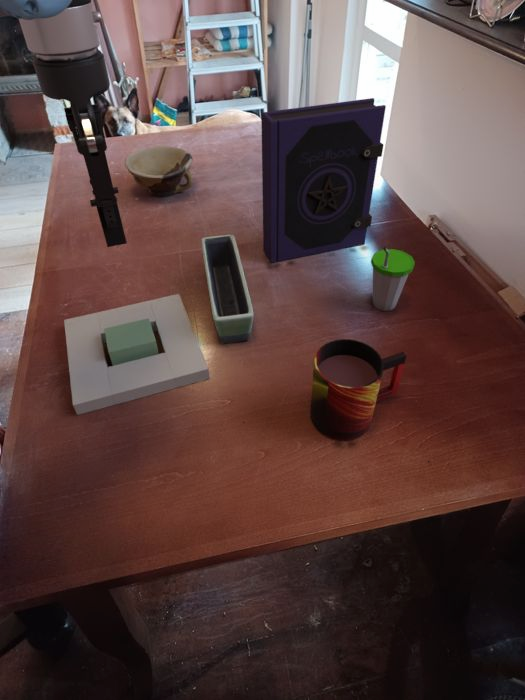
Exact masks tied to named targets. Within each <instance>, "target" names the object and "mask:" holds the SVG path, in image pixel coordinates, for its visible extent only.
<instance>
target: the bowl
mask: <svg viewBox="0 0 525 700" xmlns="http://www.w3.org/2000/svg"><path fill="white" fill-rule="evenodd" d="M192 164H193V156H192V154H191V153H190V152H189V151H188V150H186V149H184V148H181V147H177V146H172V145H171V146H170V145H156V146H155V145H154V146H151V147H150V146H149V147H144V148H141V149H138V150H136V151H133V152H131V153H130V154H128V155H127V156H126V158H124V166H125V169H127V171H128V173H129V174H131V176H132V177H133V180H134V182H136V184H138V185H139V186H141V187H142V188H144V189H145V190H148V192H149V194H151V195H152V196H154V197H158V198H159V197H160V198H164V197H170V196H172V195H174V194H177V193H181V192H185V191H188V190H189V189H190V188H191V187H192V186H193V181H194V180H193V176H192V174H191V170H190V169H191V167H192ZM183 177H184V178H185V180H186V183H184V184H183V183H181V181H182V179H183Z"/></svg>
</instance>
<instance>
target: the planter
mask: <svg viewBox="0 0 525 700" xmlns="http://www.w3.org/2000/svg"><path fill="white" fill-rule="evenodd" d="M200 242H201V250H202V258H203V264H204V270H205V277H206V283H207V289H208V295H209V301H210V307H211V314H212V319H213V323H214V326H215V329H216V332H217V335H218V337H219V340H220V343H221V344H233V343H239V342H240V343H241V342H246V341H249V340H250V336H251V331H252V328H253V322H254V316H255V315H254V314H255V312H254V308H253V303H252V300H251V296H250V292H249V288H248V284H247V279H246V276H245V273H244V268H243V265H242V261H241V257H240V252H239V248H238V244H237V241H236V238H235V236H234V234H224V235H223V234H222V235H213V236H205V237H202V238H201V239H200Z"/></svg>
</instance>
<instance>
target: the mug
mask: <svg viewBox="0 0 525 700" xmlns="http://www.w3.org/2000/svg"><path fill="white" fill-rule="evenodd" d="M406 359H407V354H406V353H405V352H404V351H400V352H398V353H397V352H396V353H395V354H392V355H389V356H386V357H384V358H382V357H381V354H380V353H379V352H378V351H377V350H376V349H375V348H374V347H372V346H371V345H369V344H367V343H365V342H363V341H359V340H356V339H350V338H342V339H340V338H339V339H335V340H332V341H329V342H326V343H324V344H323V345H322V346H321V347H319V349H318V350H317V351H316V353H315V355H314V359H313V360H314V362H313V374H312V383H311V396H310V408H309V418H310V421H311V424H312V426H313V427H314V428H315V430H317V432H318V433H320V434H321V435H323V436H324V437H326V438H327V439H330V440H334V441H339V442H348V441H349V442H350V441H353V440H357V439H358V438H361V437H362V436H364V435H365V434H366V433H367V432H368V430H369V429H370V428H371V424H372V422H373V416H374V412H375V407H376V404H377V402H379V401H381V400H385V399H387V398H390V397H393V396H396V395H397V394H398V391H399V387H400V383H401V380H402V378H401V377H402V375H403V371H404V366H405V364H406V361H407V360H406ZM392 368H393V371H392V373H391V377H390V381H389V384H388V385H387V386H384V387H382V388H380V385H381V382H382V378H383V375H384V371H386V370H389V369H392Z"/></svg>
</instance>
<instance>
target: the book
mask: <svg viewBox="0 0 525 700" xmlns="http://www.w3.org/2000/svg"><path fill="white" fill-rule="evenodd" d="M386 108H387V107H386V105H385V104H382V105H375V98H374V97H372V98H363V99H355V100H347V101H339V102H332V103H324V104H317V105H309V106H301V107H295V108H294V107H293V108H285V109H277V110H271V111H262V112H261V115H260V117H261V176H262V177H261V178H262V179H261V180H262V181H261V183H262V187H261V188H262V235H263V236H262V238H263V239H262V245H263V246H262V247H263V248H262V249H263V253H264V254H265V256H266V258H267V259H268V261H269V262H270V263H271V264H273V263H276V262H277V263H278V262H283V261H288V260H294V259H298V258H302V257H307V256H313V255H317V254H322V253H328V252H332V251H336V250H337V251H338V250H343V249H348V248H352V247H357V246H362V245H365V243H366V237H367V231H368V227H371V225H372V219H373V216H372V215H371V213H370V212H371V206H372V205H371V204H372V197H373V191H374V185H375V179H376V172H377V166H378V159H379V157H380V158H381V157H382V156H383V150H384V144H383V143H382V142H381V141H382V140H381V139H382V132H383V126H384V121H385V114H386Z"/></svg>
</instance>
